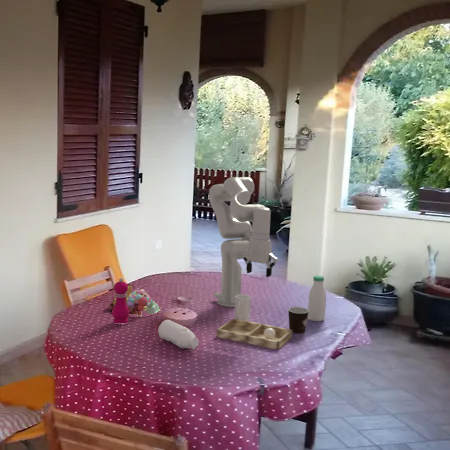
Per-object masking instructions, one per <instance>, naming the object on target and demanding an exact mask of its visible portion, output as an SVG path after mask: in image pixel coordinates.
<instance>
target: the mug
mask: <svg viewBox="0 0 450 450" xmlns="http://www.w3.org/2000/svg"><path fill="white" fill-rule="evenodd" d="M251 298H252V297H251V295H248V294H243V293H242V294H241V295H236V296H235V307H234V319H239V320H244V321H249V322H250V315H251V314H250V313H251V300H252V299H251Z"/></svg>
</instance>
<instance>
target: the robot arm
mask: <svg viewBox="0 0 450 450" xmlns="http://www.w3.org/2000/svg"><path fill="white" fill-rule="evenodd" d="M254 191H255V183H254V181H253V179H252V178H251V177H248V176H241V177H240V176H233V177H229V178H227V179H225V180H224V182H223V183H219V184H218V183H217V184H214V185H212V186H211V187H210V188H209V191H208V200H209V204H210V207H211V208H212V209H213V212H214V214H215V217H216V221H217V226H218V231H219V235H220V236H221V238H222V239H225V240H223V242H222V243H221V244H220V255H221V283H220V285H221V287H220V288H221V290H220V292H213V297H214V298H218V300H217V304H218V305H219V306H222V307H226V308H235V296H236V295H241V293H242V270H243V269H242V266H241V264H240V263H239V261H238V260H243V261H244V262H245V264H246V274H249V273H252V271H253V263H258V264H263V265H264V264H265V265H266V267H267V268H266V269H265V270H266V271H265V273H266V274H265V277H266V278H270V277H271V276H272V273H273V267H275V266H276V264H277V262H278V260H279V259H278V258H277V257H276V256H275V255H274V254H273V253H272V251H273V250H272V242H271V239H270V233H271V232H270V229H271V212H272V211H271V209H270V208H269V207H266V206H265V205H263V204H259V203H257V204H254V203H253V204H248V203H249V202H250V200H251V195H252V194H253V193H254ZM226 202H229V203H230V204H227V203H226ZM251 223H252V224H251ZM252 262H253V263H252Z"/></svg>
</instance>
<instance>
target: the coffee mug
mask: <svg viewBox="0 0 450 450" xmlns="http://www.w3.org/2000/svg"><path fill="white" fill-rule="evenodd" d="M287 312H288V326H289V328H288V329H291V330H293V331H292V334H298V335H300V334H304V333H305V332H306V328H307V327H306V326H307V322H308V313H309V310H308V308H305V307H300V306H292V307H289V308H288V310H287Z"/></svg>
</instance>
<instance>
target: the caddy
mask: <svg viewBox="0 0 450 450" xmlns="http://www.w3.org/2000/svg"><path fill="white" fill-rule="evenodd" d="M267 328H272V329H273V330H274V331H275V334H276V335H275V338H274V339H272V340H270V339H266V338H265V337H264V331H265V330H266V329H267ZM292 331H293V330H291V329H289V328H285V327H279V326H274V325H269V324H264V323H258V322H252V321H250V320H249V321H244V320H239V319H235V317H234V318H231V319H229V320H228V321H227V322H225V323H224V324H223V325H221V326H220V327H218V328H217V329H216V337H217V338H219V339H220V338H222V339H226V340H230V341H234V342H239V343H240V342H241V343H245V344H249V345H255V346H259V347H264V348H269V349H273V350H277V351H278V350H279V351H280V349H281V348H283V346H284V345H286V344H287V343H288V341H290V339H291V338H293V333H292Z"/></svg>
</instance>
